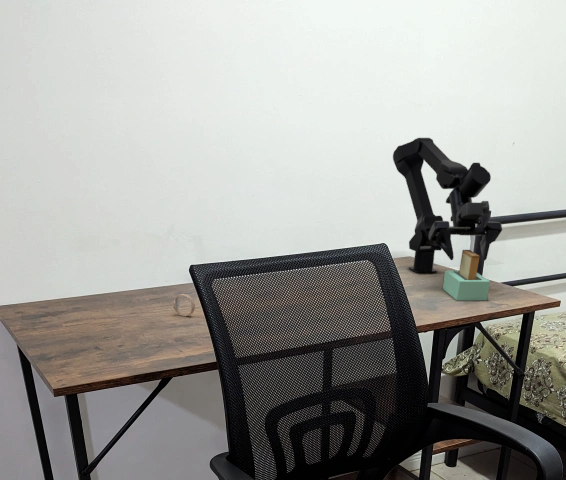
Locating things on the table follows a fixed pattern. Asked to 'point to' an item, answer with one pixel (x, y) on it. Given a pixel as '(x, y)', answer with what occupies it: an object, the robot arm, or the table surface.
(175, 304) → the beige ring
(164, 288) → the table surface
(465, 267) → the toast
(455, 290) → the toaster
